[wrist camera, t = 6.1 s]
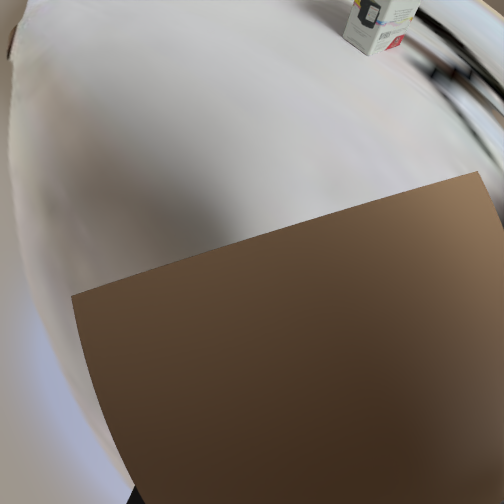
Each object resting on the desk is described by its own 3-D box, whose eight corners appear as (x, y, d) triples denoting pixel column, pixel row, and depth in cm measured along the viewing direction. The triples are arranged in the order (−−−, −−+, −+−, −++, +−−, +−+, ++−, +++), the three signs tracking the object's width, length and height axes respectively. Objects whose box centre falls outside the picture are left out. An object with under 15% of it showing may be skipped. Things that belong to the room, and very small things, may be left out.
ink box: (375, 27, 31) (398, -30, 20) (400, 46, 31) (429, -11, 19) (340, 37, 30) (362, -32, 18) (368, 57, 29) (397, -12, 18)
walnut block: (336, 377, 14) (530, 473, 2) (247, 407, 14) (232, 613, 1) (308, 290, 16) (477, 170, 3) (217, 320, 15) (71, 295, 3)
